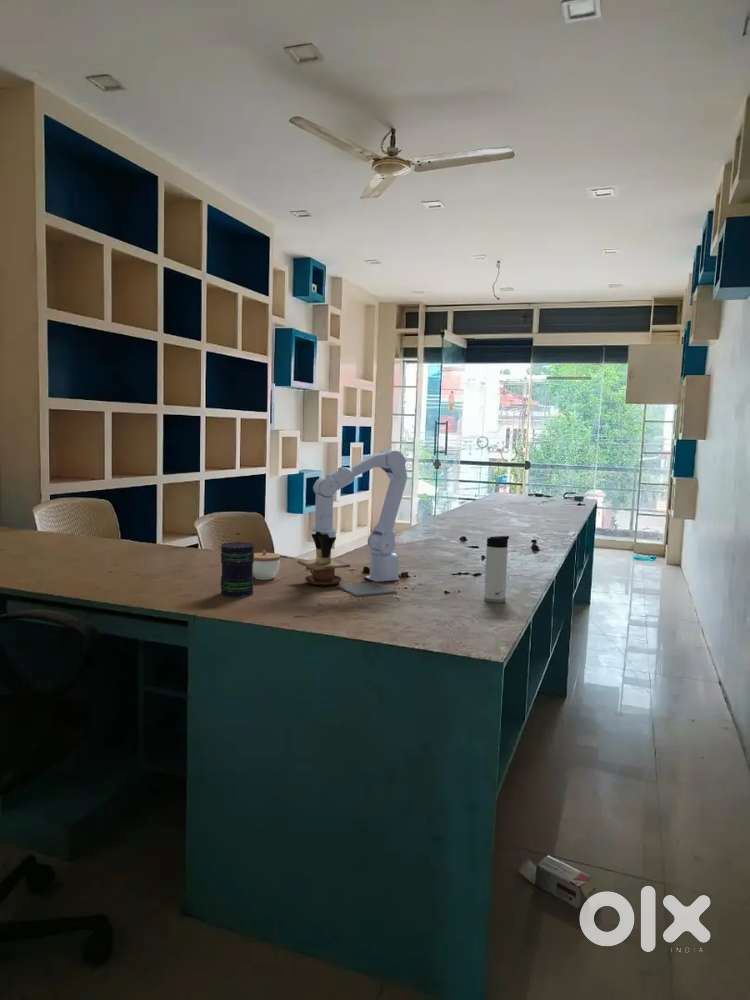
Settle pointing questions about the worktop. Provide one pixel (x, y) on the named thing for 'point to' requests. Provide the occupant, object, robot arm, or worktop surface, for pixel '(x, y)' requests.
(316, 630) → the worktop surface
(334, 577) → the cup and saucer
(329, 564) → the lid
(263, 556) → the lidded jar
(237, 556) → the storage jar
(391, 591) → the mat
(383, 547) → the robot arm
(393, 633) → the worktop surface
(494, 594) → the travel mug
